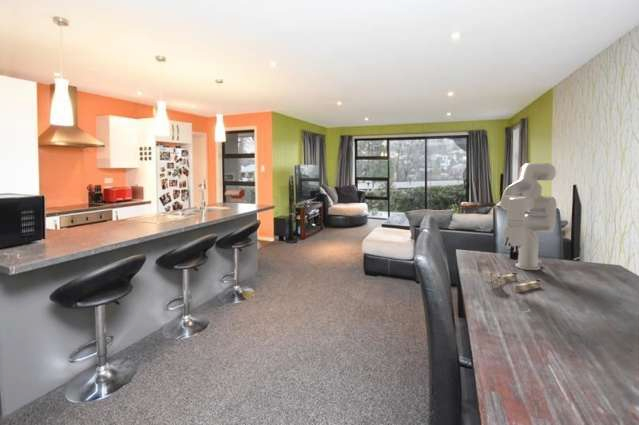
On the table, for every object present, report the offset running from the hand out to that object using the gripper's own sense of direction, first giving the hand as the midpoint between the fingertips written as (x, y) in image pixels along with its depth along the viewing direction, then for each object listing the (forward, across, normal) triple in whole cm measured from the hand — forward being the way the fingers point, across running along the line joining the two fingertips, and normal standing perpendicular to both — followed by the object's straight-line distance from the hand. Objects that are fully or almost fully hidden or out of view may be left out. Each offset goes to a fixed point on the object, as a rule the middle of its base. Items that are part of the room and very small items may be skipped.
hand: (513, 259), depth 169 cm
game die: (+13, +13, +1) cm, 18 cm away
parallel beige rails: (+14, -2, 0) cm, 14 cm away
